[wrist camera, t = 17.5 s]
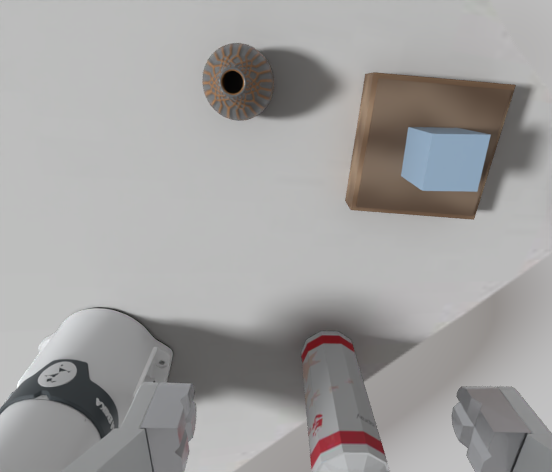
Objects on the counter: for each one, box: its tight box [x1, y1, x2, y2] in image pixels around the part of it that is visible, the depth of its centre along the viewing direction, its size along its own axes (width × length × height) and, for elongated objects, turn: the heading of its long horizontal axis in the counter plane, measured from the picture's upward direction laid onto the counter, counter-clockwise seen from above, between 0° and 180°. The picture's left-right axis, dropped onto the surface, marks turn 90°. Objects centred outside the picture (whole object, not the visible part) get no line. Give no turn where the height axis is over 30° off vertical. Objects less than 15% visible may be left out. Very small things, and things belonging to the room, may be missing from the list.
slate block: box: [401, 127, 491, 192], centre depth 34 cm, size 5×5×6 cm
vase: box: [203, 43, 274, 121], centre depth 34 cm, size 7×7×9 cm
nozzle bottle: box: [301, 331, 390, 472], centre depth 40 cm, size 8×8×25 cm
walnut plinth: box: [345, 73, 516, 219], centre depth 38 cm, size 14×14×4 cm
